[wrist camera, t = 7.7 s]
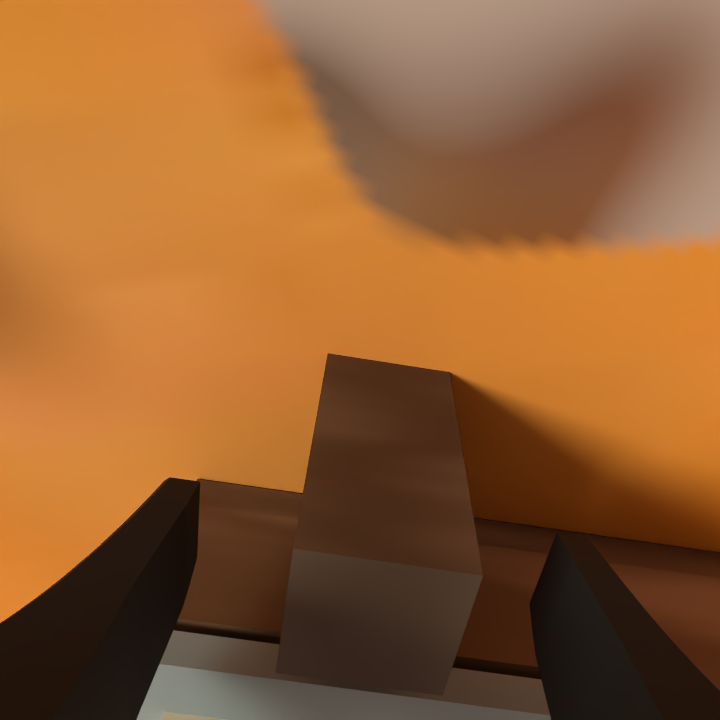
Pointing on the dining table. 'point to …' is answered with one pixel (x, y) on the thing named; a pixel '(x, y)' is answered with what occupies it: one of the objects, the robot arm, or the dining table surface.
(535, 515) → the dining table surface
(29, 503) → the dining table surface
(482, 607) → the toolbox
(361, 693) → the lid
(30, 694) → the robot arm
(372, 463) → the block
